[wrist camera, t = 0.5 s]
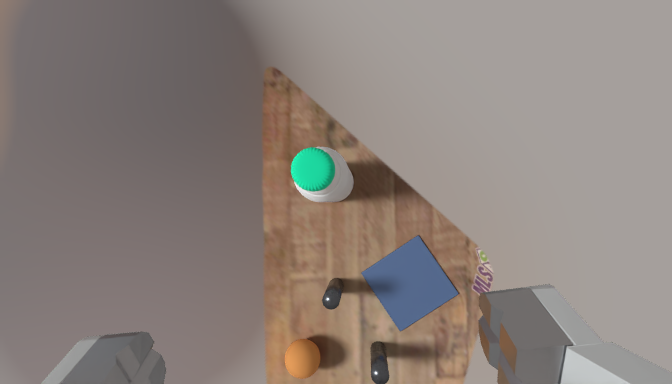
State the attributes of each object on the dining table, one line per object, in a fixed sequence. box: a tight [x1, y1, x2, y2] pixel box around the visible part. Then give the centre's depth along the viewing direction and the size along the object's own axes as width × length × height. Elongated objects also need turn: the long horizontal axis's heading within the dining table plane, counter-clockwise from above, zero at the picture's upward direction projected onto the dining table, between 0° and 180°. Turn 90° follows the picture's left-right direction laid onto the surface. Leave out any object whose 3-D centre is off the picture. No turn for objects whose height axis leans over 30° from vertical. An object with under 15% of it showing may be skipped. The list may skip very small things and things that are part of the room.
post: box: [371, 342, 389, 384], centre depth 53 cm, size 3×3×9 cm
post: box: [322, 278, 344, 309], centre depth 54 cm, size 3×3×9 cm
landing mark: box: [362, 236, 458, 331], centre depth 58 cm, size 12×12×1 cm
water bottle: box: [291, 147, 354, 202], centre depth 47 cm, size 7×7×25 cm
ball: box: [285, 339, 320, 379], centre depth 56 cm, size 6×6×6 cm
